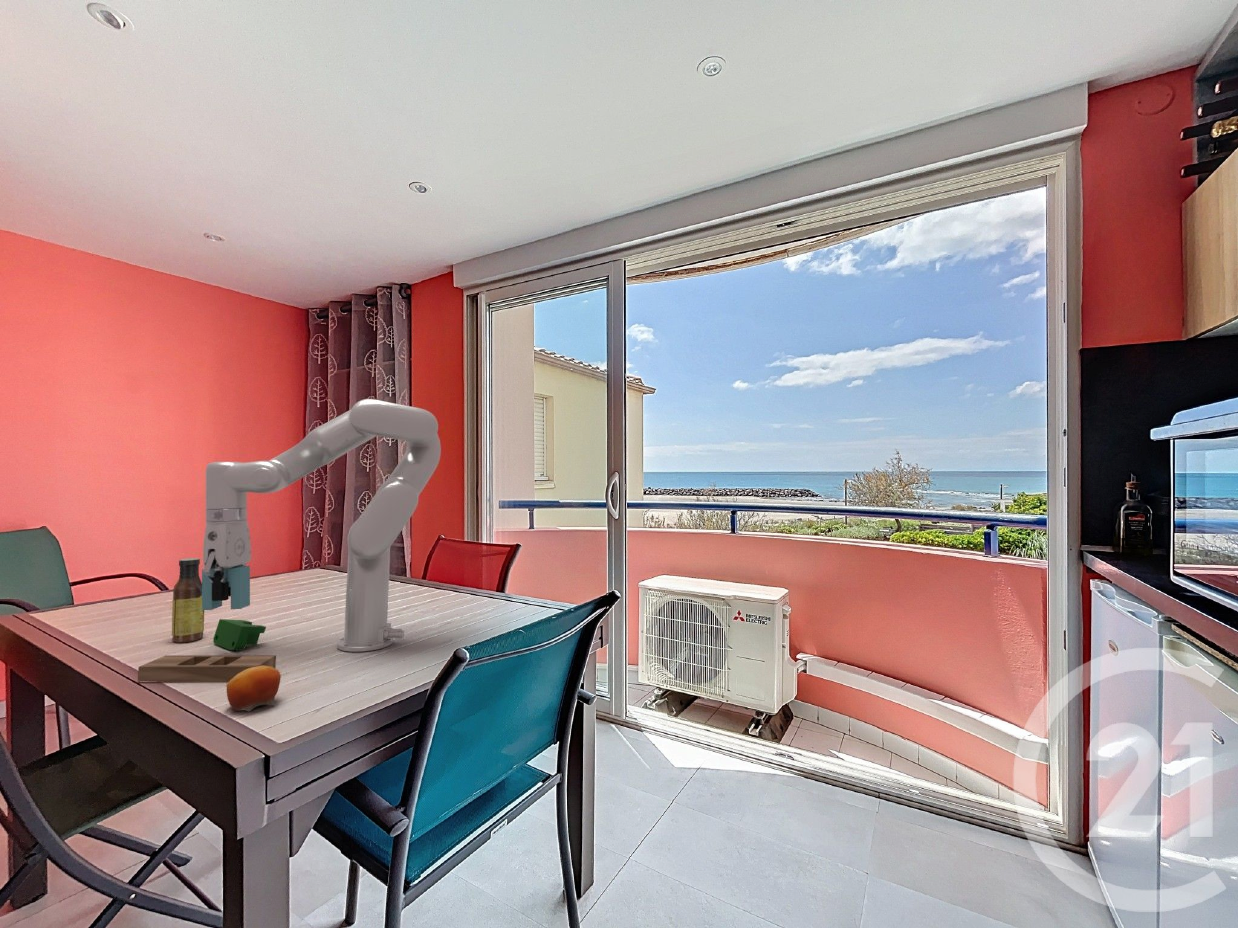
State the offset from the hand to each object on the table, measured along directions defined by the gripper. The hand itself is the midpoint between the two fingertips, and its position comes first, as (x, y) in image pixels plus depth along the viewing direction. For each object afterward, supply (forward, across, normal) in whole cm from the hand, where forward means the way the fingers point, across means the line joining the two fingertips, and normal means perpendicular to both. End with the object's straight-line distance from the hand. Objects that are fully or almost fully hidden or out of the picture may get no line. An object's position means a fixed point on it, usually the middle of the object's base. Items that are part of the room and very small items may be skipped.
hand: (226, 597), depth 121 cm
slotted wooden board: (+13, -12, -4) cm, 18 cm away
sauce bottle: (+13, +14, +17) cm, 26 cm away
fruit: (+14, -26, -21) cm, 36 cm away
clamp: (+14, +9, +3) cm, 17 cm away
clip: (+2, 0, 0) cm, 2 cm away
